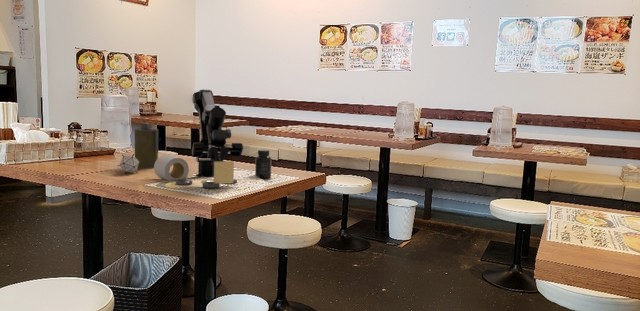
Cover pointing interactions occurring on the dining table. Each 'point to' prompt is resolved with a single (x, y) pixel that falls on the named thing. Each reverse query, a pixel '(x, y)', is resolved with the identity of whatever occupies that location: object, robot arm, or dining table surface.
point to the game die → (129, 163)
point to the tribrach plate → (189, 182)
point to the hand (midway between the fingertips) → (220, 167)
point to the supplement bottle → (263, 165)
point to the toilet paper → (166, 162)
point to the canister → (146, 145)
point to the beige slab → (221, 174)
